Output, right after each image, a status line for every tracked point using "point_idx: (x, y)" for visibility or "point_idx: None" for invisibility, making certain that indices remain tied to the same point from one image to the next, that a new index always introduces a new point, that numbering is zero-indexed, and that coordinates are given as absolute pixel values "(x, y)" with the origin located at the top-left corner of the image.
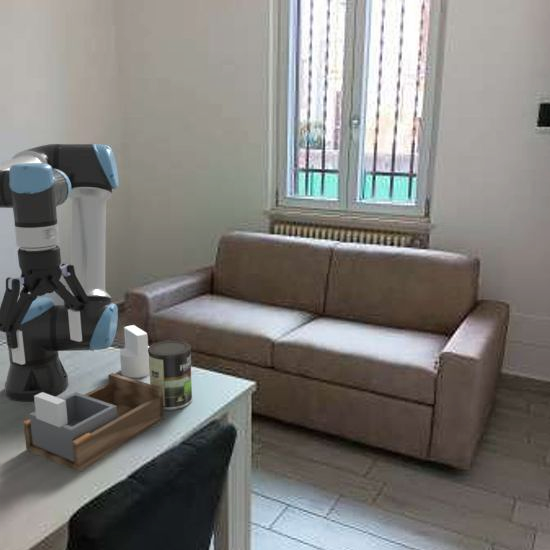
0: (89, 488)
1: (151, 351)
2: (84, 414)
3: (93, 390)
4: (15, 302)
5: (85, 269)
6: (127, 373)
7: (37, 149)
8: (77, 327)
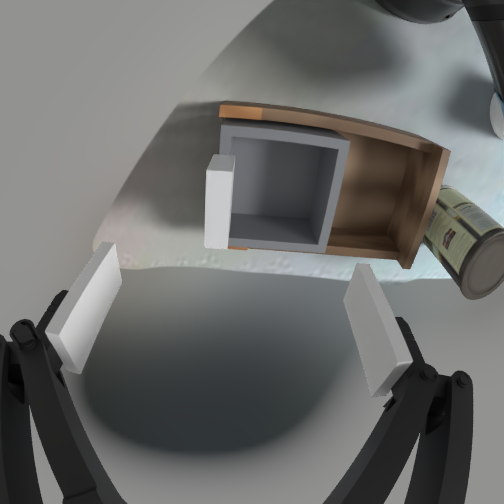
0: (198, 256)
1: (479, 251)
2: (324, 162)
3: (397, 134)
4: (32, 480)
5: None
6: (494, 109)
7: None
8: (357, 339)
